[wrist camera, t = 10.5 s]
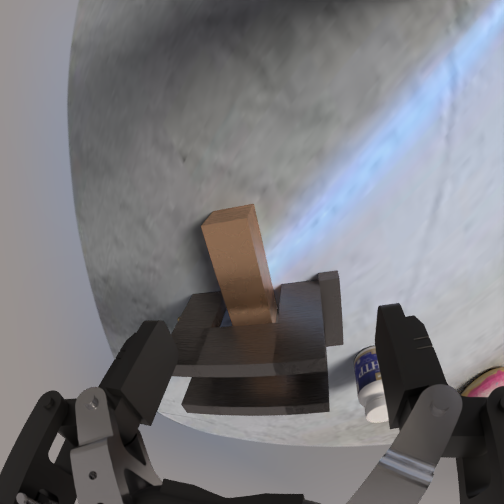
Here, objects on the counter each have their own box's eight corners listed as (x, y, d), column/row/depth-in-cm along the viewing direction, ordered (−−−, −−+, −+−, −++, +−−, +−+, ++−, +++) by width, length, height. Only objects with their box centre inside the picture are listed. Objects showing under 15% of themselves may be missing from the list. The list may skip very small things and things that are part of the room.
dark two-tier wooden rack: (167, 291, 33) (124, 356, 23) (337, 270, 28) (352, 347, 19) (192, 347, 36) (164, 413, 27) (342, 335, 32) (351, 413, 22)
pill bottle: (387, 338, 31) (403, 394, 24) (395, 362, 33) (409, 415, 25) (348, 353, 33) (355, 411, 25) (359, 376, 35) (366, 430, 27)
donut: (474, 365, 32) (484, 387, 28) (522, 355, 31) (532, 374, 26) (441, 413, 38) (446, 434, 34) (489, 402, 37) (496, 420, 32)
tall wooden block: (213, 211, 28) (200, 226, 24) (253, 203, 27) (247, 218, 23) (255, 354, 35) (250, 378, 32) (287, 352, 34) (285, 376, 31)
